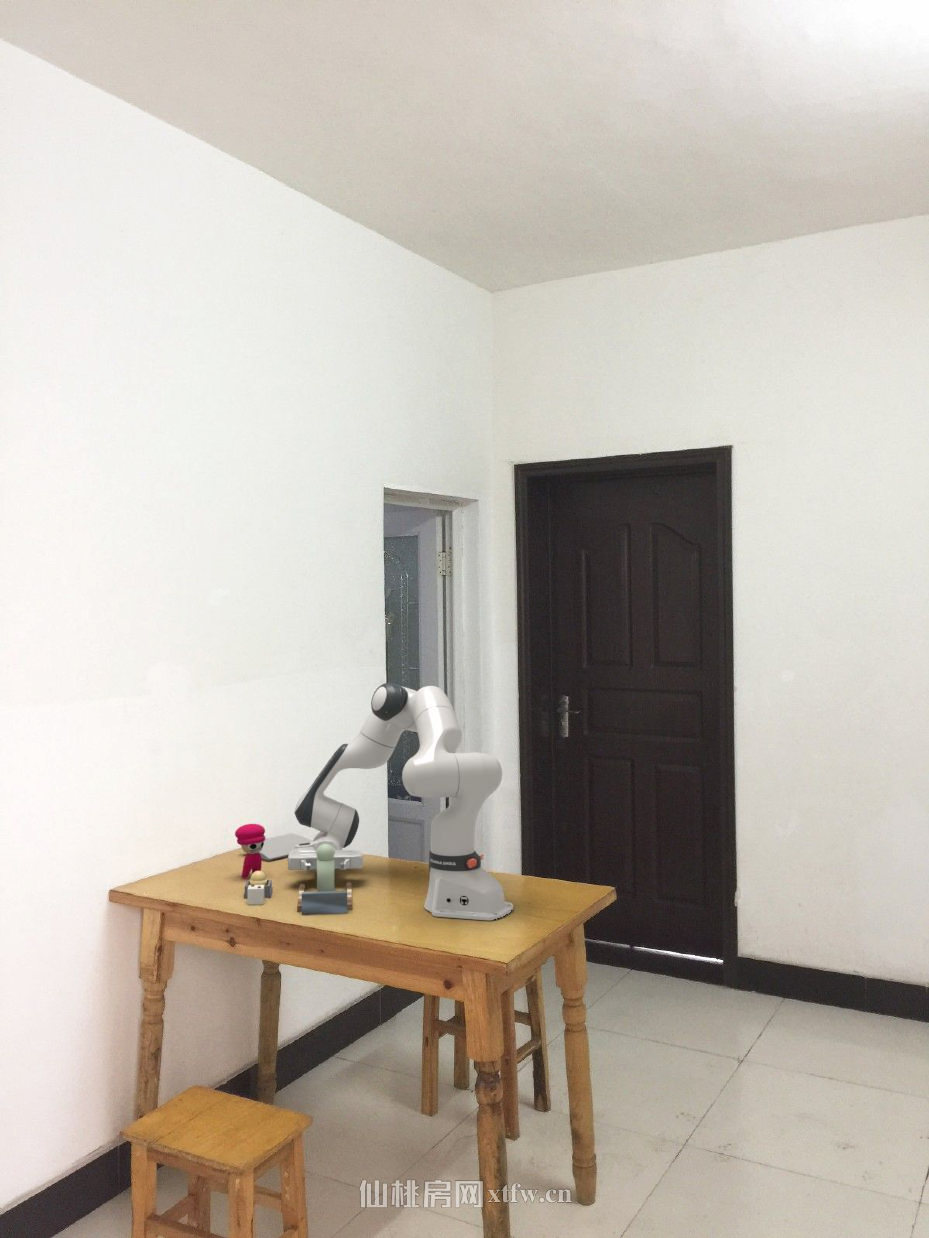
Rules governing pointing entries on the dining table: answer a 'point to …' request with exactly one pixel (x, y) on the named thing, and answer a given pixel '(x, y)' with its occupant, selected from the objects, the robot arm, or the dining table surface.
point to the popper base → (267, 889)
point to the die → (256, 894)
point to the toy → (251, 846)
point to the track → (324, 901)
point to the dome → (258, 878)
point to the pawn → (325, 868)
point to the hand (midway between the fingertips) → (325, 867)
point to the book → (281, 846)
